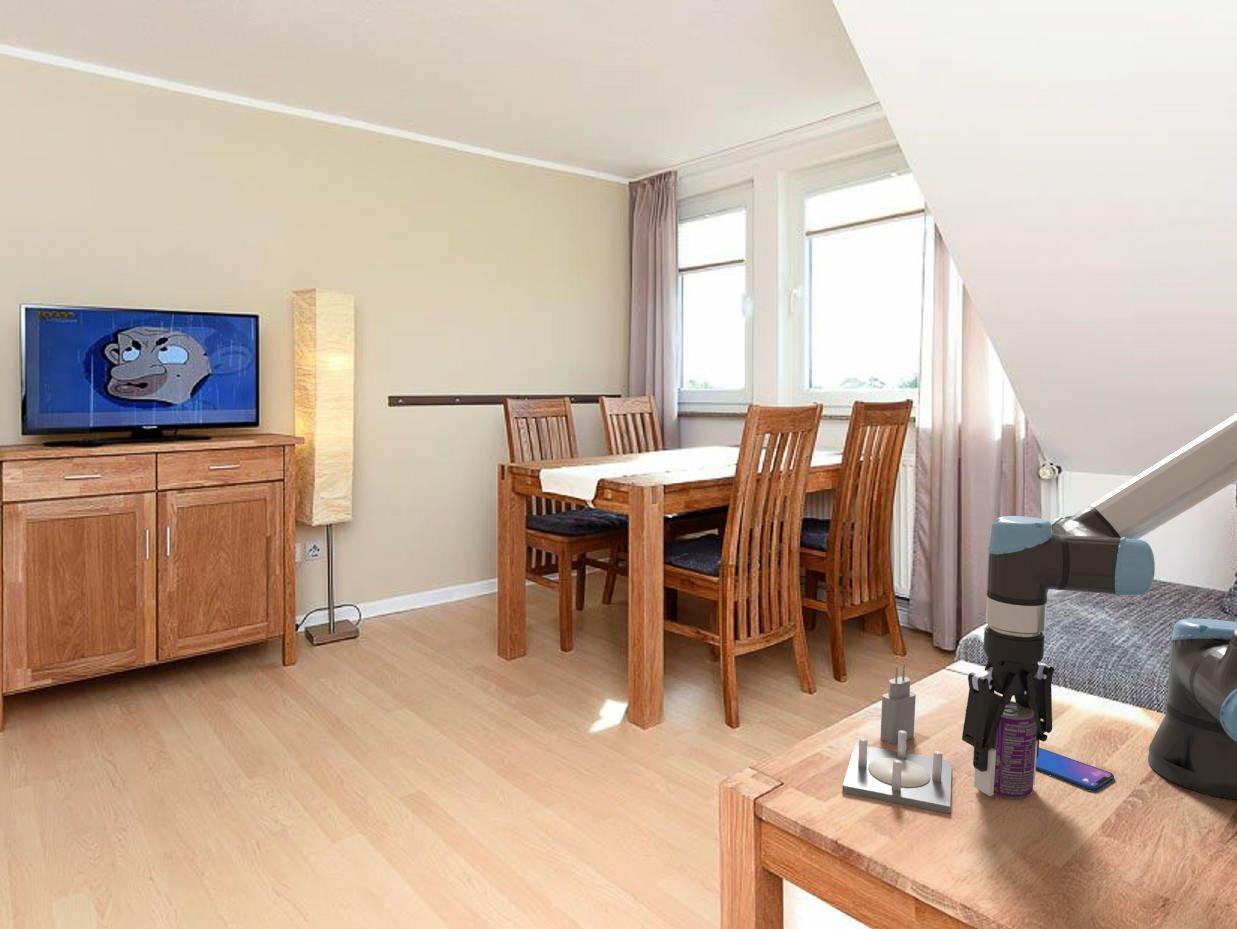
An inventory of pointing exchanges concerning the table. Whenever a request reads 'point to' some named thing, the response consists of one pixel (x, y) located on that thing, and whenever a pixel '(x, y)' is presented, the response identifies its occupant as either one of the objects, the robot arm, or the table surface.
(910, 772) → the grey peg holder stand
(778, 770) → the table surface
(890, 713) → the power adapter
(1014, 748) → the beverage can
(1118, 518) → the robot arm
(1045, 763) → the smartphone
